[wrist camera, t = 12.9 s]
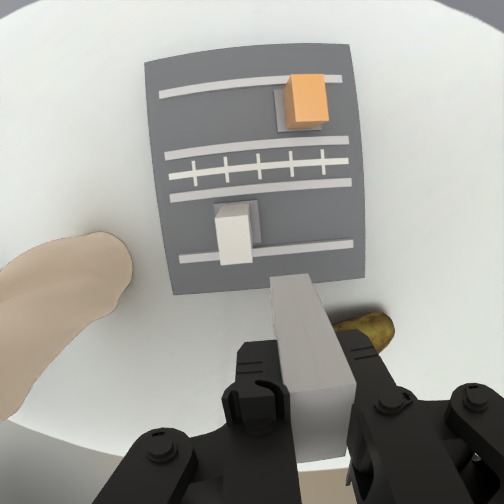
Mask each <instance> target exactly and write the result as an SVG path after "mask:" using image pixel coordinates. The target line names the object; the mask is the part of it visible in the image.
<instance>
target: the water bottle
mask: <svg viewBox="0 0 504 504" xmlns="http://www.w3.org/2000/svg"><path fill="white" fill-rule="evenodd" d="M132 272H133V267H132V260H131V256H130V253H129V251H128V249H127V248H126V246H125V245H124V244H123V243H122V242H121V241H120V240H119V239H118V238H117V237H115V236H113V235H111V234H109V233H105V232H94V233H91V234H89V235H84V236H76V237H68V238H62V239H57V240H53V241H50V242H47V243H44V244H41V245H39V246H36V247H34V248H32V249H30V250H28V251H26V252H24V253H22V254H21V255H19V256H18V257H16V258H15V259H13V260H12V261H11V262H9V263H8V264H7V265H6V266H5V267H4V268H3V269H1V270H0V423H1V422H2V421H3V420H5V419H7V418H8V417H10V416H12V415H13V414H14V413H16V412H17V411H18V410H19V408H20V407H21V405H22V404H23V402H24V400H25V398H26V396H27V395H28V393H29V391H30V389H31V387H32V385H33V384H34V382H35V381H36V380H37V378H38V377H39V376H40V375H41V374H42V372H43V371H44V370H45V369H46V367H47V366H48V365H49V364H50V363H51V362H52V361H53V360H54V359H55V358H56V357H57V355H58V354H59V353H60V352H61V351H62V350H63V349H64V348H65V347H66V346H67V345H68V344H69V343H70V342H71V341H72V340H73V339H74V338H75V337H76V336H77V335H78V334H79V333H80V332H81V331H82V330H83V329H84V328H85V327H86V326H87V325H89V324H90V323H92V322H93V321H95V320H97V319H100V318H102V317H104V316H106V315H108V314H110V313H111V312H113V311H114V310H115V308H116V306H117V304H118V300H119V298H120V296H121V294H122V293H123V291H124V290H125V289H126V287H127V286H128V285H129V283H130V281H131V278H132Z"/></svg>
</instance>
